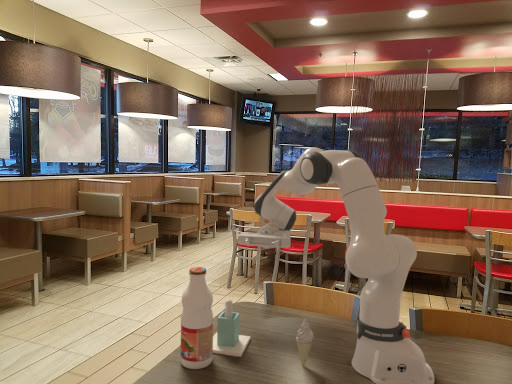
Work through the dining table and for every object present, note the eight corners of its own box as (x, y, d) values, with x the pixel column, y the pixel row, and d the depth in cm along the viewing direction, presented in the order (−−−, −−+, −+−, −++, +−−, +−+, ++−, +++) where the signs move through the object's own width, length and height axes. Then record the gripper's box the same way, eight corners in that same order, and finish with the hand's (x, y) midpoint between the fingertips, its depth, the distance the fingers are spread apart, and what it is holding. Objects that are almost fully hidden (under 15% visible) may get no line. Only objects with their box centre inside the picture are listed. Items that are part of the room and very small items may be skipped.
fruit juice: (213, 369, 108) (214, 273, 106) (179, 371, 106) (180, 274, 104) (211, 352, 117) (213, 264, 115) (181, 354, 116) (181, 264, 113)
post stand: (250, 339, 126) (251, 295, 125) (240, 356, 115) (242, 308, 114) (216, 334, 129) (217, 291, 128) (203, 351, 117) (204, 304, 116)
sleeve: (238, 339, 124) (239, 312, 123) (234, 347, 119) (234, 319, 118) (222, 337, 125) (223, 311, 125) (217, 345, 120) (217, 317, 119)
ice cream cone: (311, 371, 108) (313, 320, 106) (293, 369, 109) (295, 318, 107) (312, 362, 113) (314, 313, 111) (295, 360, 114) (297, 312, 112)
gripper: (242, 227, 151) (232, 233, 138) (293, 230, 147) (288, 237, 133) (242, 242, 152) (232, 250, 139) (292, 246, 147) (287, 254, 134)
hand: (260, 244), depth 136 cm, fingers open, 8 cm apart
